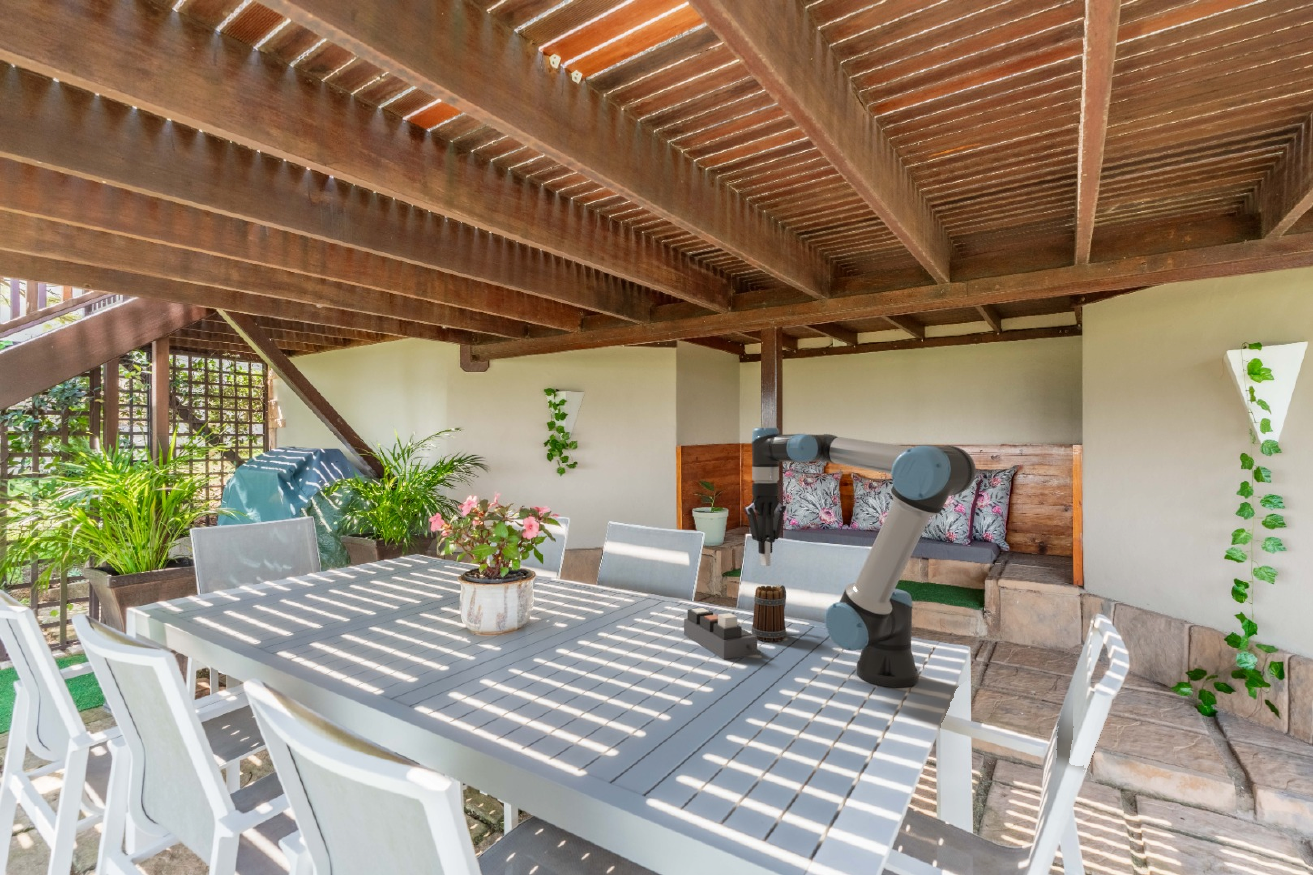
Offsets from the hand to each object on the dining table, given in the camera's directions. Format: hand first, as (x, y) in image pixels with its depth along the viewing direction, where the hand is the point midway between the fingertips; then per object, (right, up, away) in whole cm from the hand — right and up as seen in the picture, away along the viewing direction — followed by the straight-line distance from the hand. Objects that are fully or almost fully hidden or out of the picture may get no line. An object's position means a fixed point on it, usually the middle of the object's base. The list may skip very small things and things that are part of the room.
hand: (765, 564), depth 185 cm
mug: (+5, -26, +19) cm, 33 cm away
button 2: (-14, -20, +9) cm, 26 cm away
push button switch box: (-11, -26, +7) cm, 29 cm away
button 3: (-17, -20, +16) cm, 31 cm away
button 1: (-11, -18, +2) cm, 21 cm away
